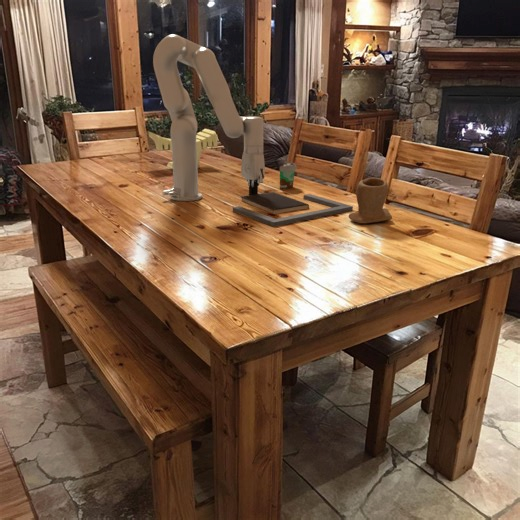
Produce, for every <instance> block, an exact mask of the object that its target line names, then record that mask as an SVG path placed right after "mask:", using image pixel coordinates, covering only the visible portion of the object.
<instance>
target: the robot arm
mask: <svg viewBox="0 0 520 520" xmlns="http://www.w3.org/2000/svg"><path fill="white" fill-rule="evenodd" d="M152 60H153V61H152V64H153V65H152V66H153V70H154V73H155V77H156V80H157V84H158V89H159V91H160V95H161V98H162V99H161V100H162V103H163V105H164V108H166V110H167V112H168V114H169V118H170V120H171V125H170V139H171V144H172V150H171V158H172V160H171V161H172V162H173V169H172V178H173V180H172V181H173V186H170V188H169V189H165V190H162V191H161V192H162V196H169V198H170V199H171V200H173V201H179V202H193V201H198V200H201V199H202V198H203V194H202V192H199V181H198V180H199V179H198V178H199V176H198V173H199V172H198V168H197V142H196V135H197V132H198V121H197V117H196V114H195V111H194V108H193V104H192V101H191V98H190V95H189V92H188V90H186V89H185V88H184V86H183V83H182V82H183V81H182V79H181V75H180V71H179V69H178V62H179V63H182V64H184V65H187V66H188V67H191V68H193V69H194V70H195V71H196V72H195V73H196V74H197V76H198V78H199V80H200V82H201V84H202V86H203V89H204V92H205V93H206V95H207V98H208V100H209V102H210V103H211V105H212V108H213V110H214V112H215V114H216V116H217V119H218V122H220V123H219V124H220V125H221V128H222V130H223V132H224V133H225V135H226V137H228V138H230V139H237V138H240V137H241V136H242V135H243V152H242V157H241V167H240V168H241V169H240V175H241V177H242V178H243V179H244V180H246V181H247V185H248V186H247V187H248V195H255V194H259V189H258V188H259V186H260V184H263V183H264V181H263V180H264V179H265V176H266V175H265V174H266V172H265V171H266V169H265V168H266V166H265V165H266V164H265V156H264V126H265V125H264V123H265V121H264V118H263V117H261V116H240V114H239V112H238V110H237V108H236V105H235V103H234V100H233V98H232V94H231V91H230V87H229V85H228V83H227V80H226V78H225V76H224V74H223V72H222V70H221V67H220V65H219V63H218V61H217V58H216V55H215V52H213V51H212V50H211V49H209V48H207V47H205V46H202V45H200V44H198V43H195V42H193V41H191V40H190V39H189V40H188V39H187V38H184V37H182V36H180V35H178V34H174V33H172V34H168V35H167V36H165V37H164V38H162V39H161V41H160V42H159V43H158V44H157V46H156V47H155V50H154V52H153V56H152Z"/></svg>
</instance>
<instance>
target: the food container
mask: <svg viewBox="0 0 520 520" xmlns="http://www.w3.org/2000/svg"><path fill="white" fill-rule="evenodd" d="M296 170H297V165H296V163H295V162H291V161H284V162H283V164H282V165H280V166H279V190H289V189H290V190H291V189H293V188H294V180H295V171H296Z"/></svg>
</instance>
